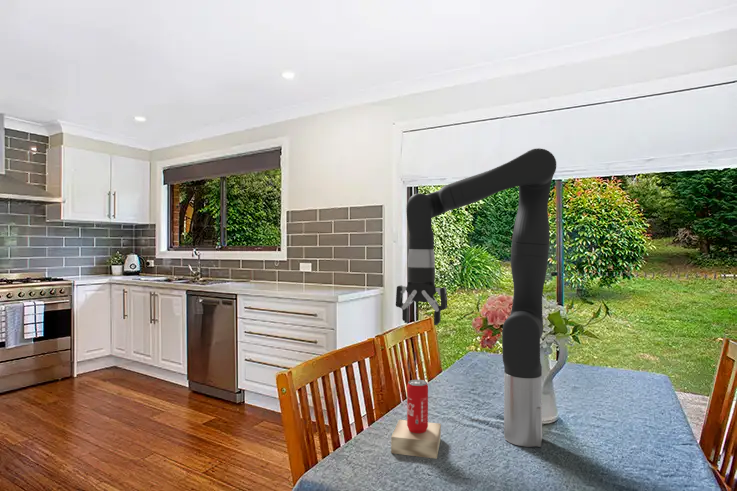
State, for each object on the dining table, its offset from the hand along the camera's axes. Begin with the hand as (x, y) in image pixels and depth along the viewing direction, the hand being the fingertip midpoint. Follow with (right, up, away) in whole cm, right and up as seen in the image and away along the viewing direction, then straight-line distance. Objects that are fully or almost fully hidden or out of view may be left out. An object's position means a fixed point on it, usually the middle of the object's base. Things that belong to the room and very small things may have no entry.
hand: (421, 323), depth 123 cm
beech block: (-2, -29, -12) cm, 31 cm away
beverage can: (-2, -25, -12) cm, 28 cm away
